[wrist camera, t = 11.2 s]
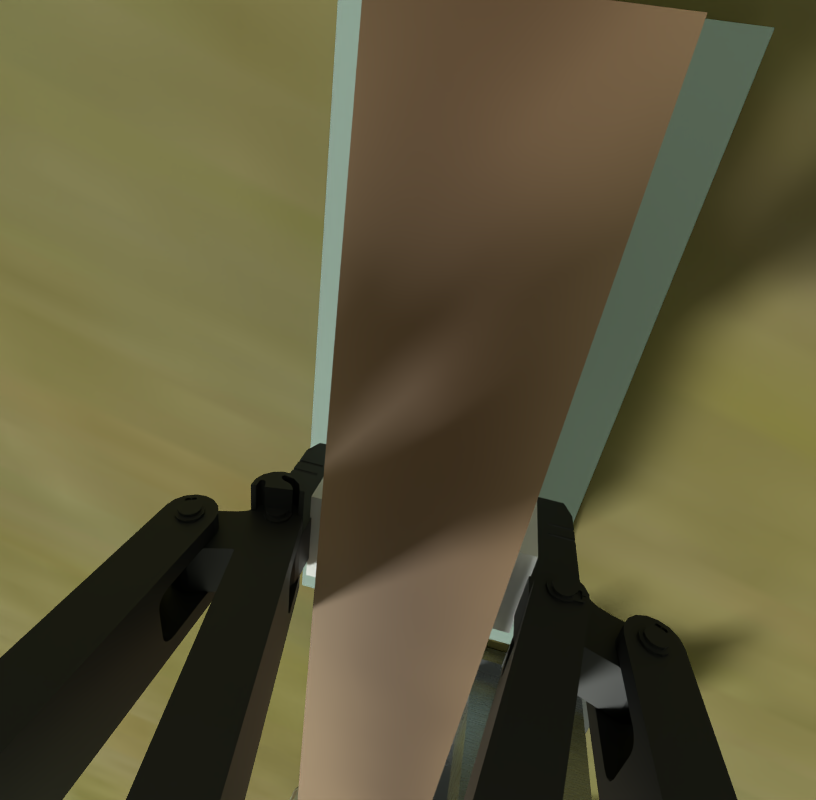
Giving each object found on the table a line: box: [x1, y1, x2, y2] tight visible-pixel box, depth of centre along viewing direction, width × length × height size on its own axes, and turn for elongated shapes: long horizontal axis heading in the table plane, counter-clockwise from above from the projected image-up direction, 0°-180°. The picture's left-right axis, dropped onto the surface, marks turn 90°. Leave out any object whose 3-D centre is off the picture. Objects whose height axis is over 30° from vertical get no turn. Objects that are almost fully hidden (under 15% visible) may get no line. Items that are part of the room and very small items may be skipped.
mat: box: [302, 0, 774, 644], centre depth 20 cm, size 12×26×1 cm, turn 172°
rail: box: [298, 0, 707, 800], centre depth 14 cm, size 4×22×6 cm, turn 172°
